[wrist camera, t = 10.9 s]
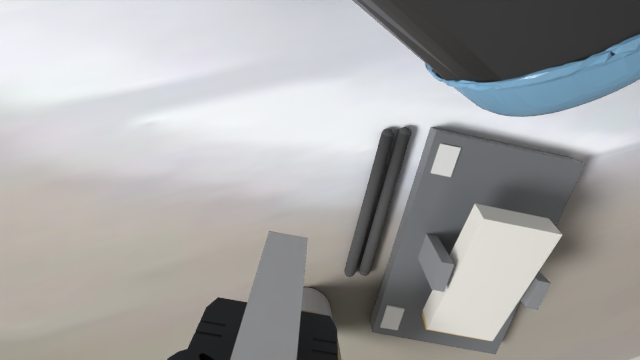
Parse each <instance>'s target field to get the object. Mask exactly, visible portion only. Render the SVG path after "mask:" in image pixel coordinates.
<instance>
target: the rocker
mask: <svg viewBox="0 0 640 360" xmlns="http://www.w3.org/2000/svg"><path fill="white" fill-rule="evenodd" d="M561 236H562V233H561V232H560V231H559V230H558V229H557V228H556V226H555V225H554V224H553V223H552V222H551V220H550V219H549V218H544V217H539V216H534V215H529V214H524V213H520V212H515V211H510V210H505V209H500V208H495V207H490V206H485V205H480V204H476V203H475V204H474V206H473V208H472V210H471V212H470V214H469V217H468V219H467V221H466V223H465V225H464V227H463V229H462V231H461V233H460V235H459V237H458V239H457V241H456V243H455V245H454V247H453V249H452V251H451V253H450V255H449V256H450V258H451V259H452V261H453V263H454V264H455V265H454V268H453V270H452V273H451V275H450V278H449V281H448V283H447V286H446V289H445V291H444V292H441V291H436V290H432V292H431V294H430V296H429V298H428V300H427V302H426V304H425V306H424V308H423V313H422V316H423V320H424V325H425V329H426V330H431V331H437V332H442V333H448V334H453V335H459V336H464V337H470V338H475V339H481V340H486V341H493V340H494V338H495V337H496V335H497V334H498V332H499V330H500V329H501V327H502V326H503V324H504V323H505V321H506V320H507V318H508V317H509V315H510V314H511V312H512V311H513V309H514V308H515V306H516V305H517V303H518V302H519V300H520V299H521V297H522V296H523V294H524V293H525V291H526V290H527V288H528V287H529V285H530V283H531V282H532V280H533V279H534V277H535V276H536V274H537V273H538V271H539V270H540V268H541V267H542V265H543V264H544V262H545V261H546V259H547V258H548V256H549V255H550V253H551V252H552V250H553V249H554V247H555V246H556V244H557V243H558V241H559V240H560V238H561Z"/></svg>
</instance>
